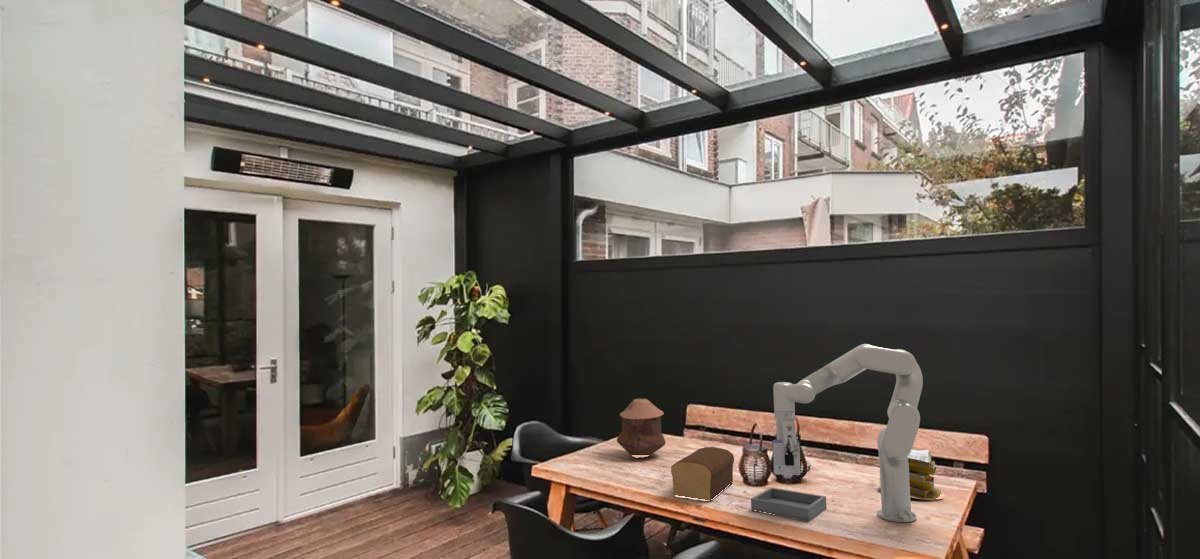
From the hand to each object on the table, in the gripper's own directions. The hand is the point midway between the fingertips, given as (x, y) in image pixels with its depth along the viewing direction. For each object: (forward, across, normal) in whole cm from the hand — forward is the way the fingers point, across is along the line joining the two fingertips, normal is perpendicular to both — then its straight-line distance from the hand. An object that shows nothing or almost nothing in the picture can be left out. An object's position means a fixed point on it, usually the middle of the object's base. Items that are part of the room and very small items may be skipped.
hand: (786, 462), depth 233 cm
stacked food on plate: (+18, +16, -55) cm, 60 cm away
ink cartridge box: (+4, 0, 0) cm, 4 cm away
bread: (+18, +28, +27) cm, 43 cm away
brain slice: (+18, +58, -20) cm, 64 cm away
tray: (+17, 0, 0) cm, 17 cm away
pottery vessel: (+18, +93, +48) cm, 106 cm away
